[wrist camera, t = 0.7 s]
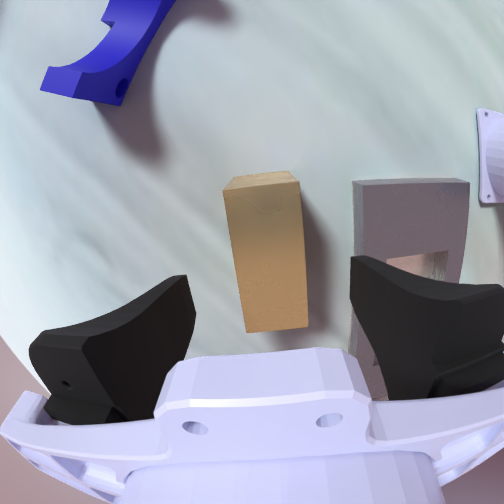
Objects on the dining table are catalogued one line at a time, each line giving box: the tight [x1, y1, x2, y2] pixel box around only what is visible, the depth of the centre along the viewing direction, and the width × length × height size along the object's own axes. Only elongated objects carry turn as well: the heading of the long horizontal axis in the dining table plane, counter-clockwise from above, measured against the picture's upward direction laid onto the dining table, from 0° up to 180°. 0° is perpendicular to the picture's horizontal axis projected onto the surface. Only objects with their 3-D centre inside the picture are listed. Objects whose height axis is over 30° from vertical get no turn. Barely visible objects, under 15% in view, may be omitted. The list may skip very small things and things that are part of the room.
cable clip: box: [40, 0, 176, 106], centre depth 11 cm, size 12×4×6 cm, turn 155°
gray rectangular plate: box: [348, 178, 470, 399], centre depth 20 cm, size 9×20×2 cm, turn 7°
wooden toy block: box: [223, 171, 308, 333], centre depth 16 cm, size 4×8×6 cm, turn 7°
